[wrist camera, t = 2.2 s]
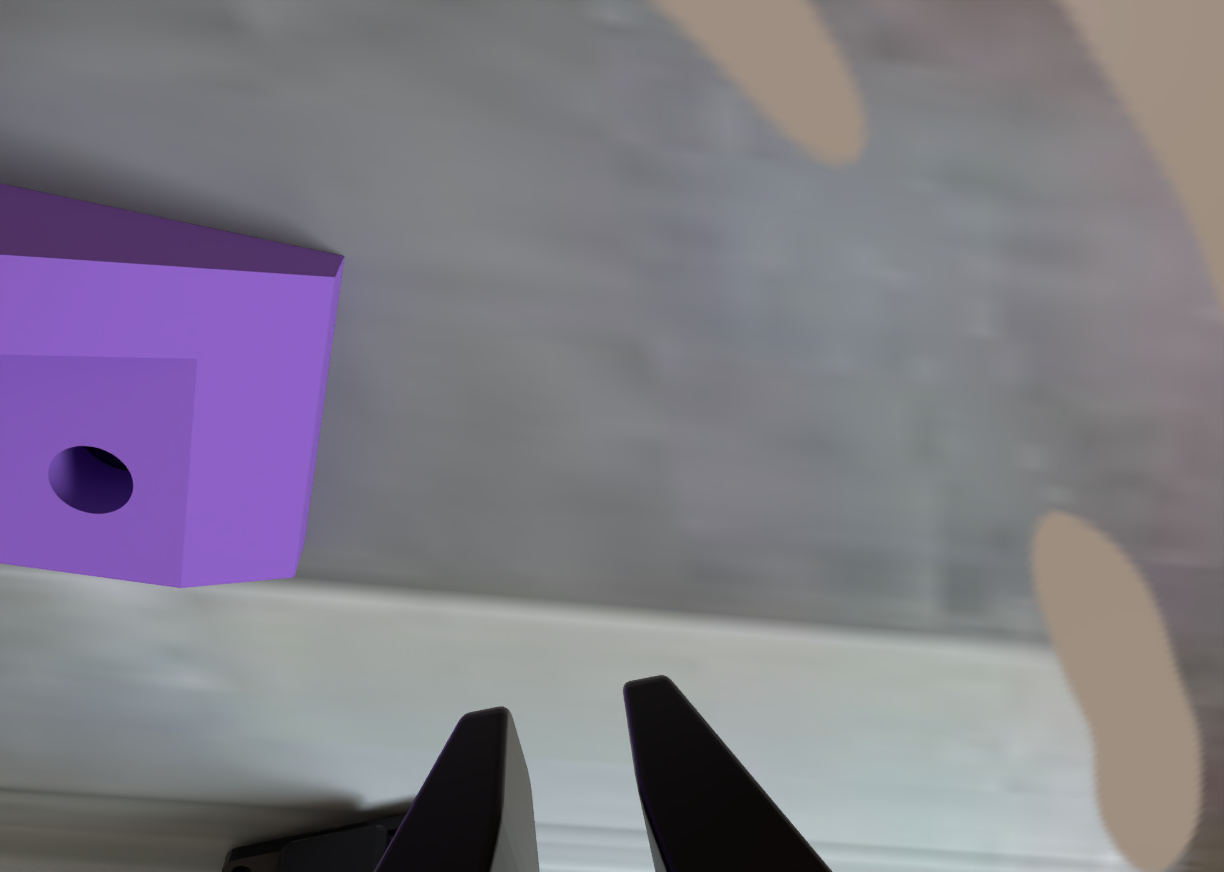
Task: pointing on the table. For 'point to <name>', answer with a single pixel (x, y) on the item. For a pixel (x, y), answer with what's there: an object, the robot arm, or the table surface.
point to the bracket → (157, 393)
